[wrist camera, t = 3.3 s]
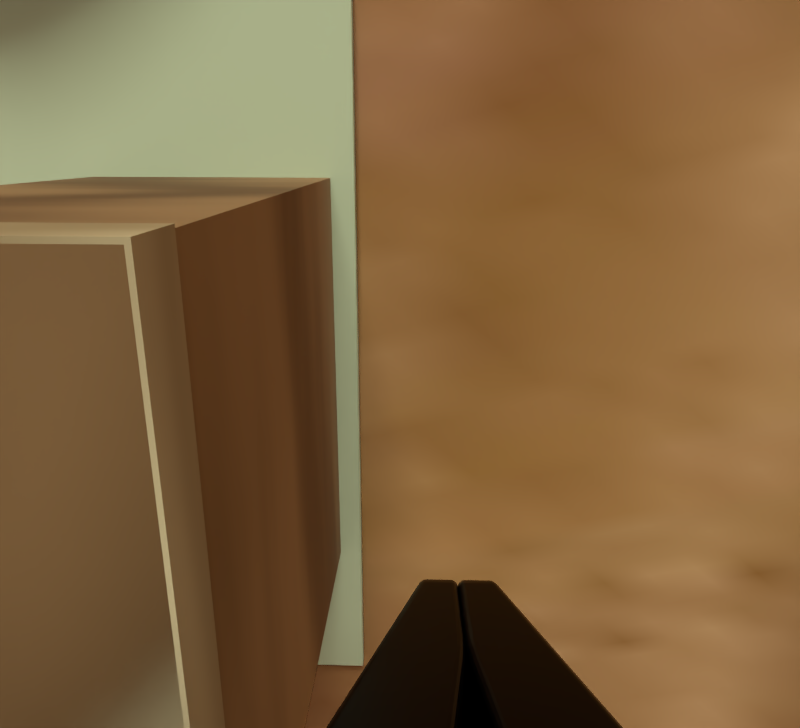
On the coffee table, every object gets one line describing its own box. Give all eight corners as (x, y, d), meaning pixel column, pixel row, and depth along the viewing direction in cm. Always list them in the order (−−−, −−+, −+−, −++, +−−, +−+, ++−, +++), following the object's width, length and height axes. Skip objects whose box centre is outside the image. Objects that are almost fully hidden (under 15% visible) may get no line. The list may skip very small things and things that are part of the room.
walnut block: (332, 175, 14) (129, 237, 4) (343, 553, 17) (234, 1095, 7) (90, 174, 14) (-618, 231, 4) (141, 549, 17) (-227, 1072, 7)
